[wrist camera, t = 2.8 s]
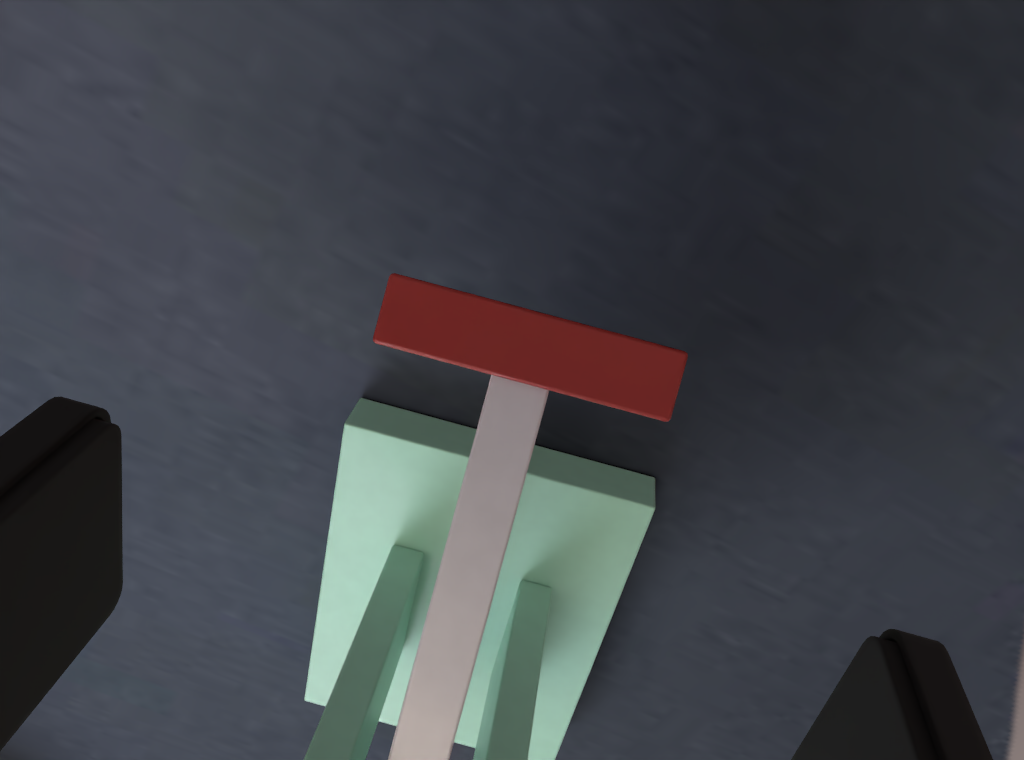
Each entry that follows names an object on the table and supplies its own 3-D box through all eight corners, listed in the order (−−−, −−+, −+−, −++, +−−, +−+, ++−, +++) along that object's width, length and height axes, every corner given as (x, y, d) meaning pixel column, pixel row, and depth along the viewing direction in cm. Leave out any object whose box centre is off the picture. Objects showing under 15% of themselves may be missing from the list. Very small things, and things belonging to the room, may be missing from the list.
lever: (405, 281, 17) (383, 268, 14) (672, 352, 17) (695, 352, 14) (208, 1024, 17) (156, 1131, 15) (466, 1097, 17) (456, 1217, 15)
